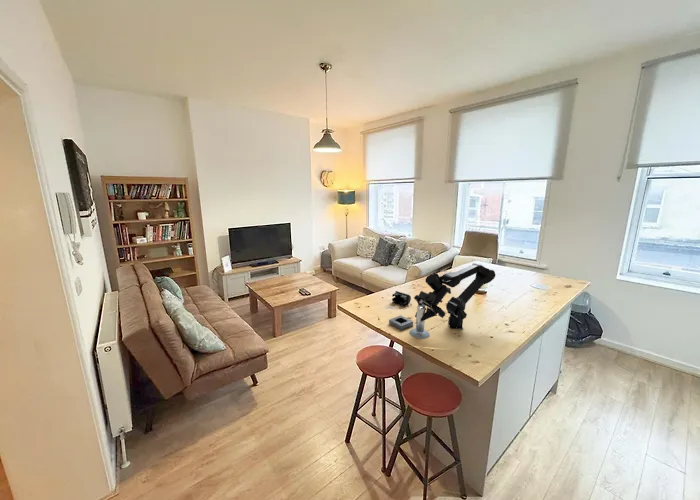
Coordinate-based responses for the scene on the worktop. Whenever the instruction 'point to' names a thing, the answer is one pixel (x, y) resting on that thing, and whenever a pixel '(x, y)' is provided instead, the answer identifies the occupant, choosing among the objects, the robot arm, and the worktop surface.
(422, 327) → the steel peg
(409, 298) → the end cap
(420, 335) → the rubber pad
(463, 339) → the worktop surface
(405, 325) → the socket block
